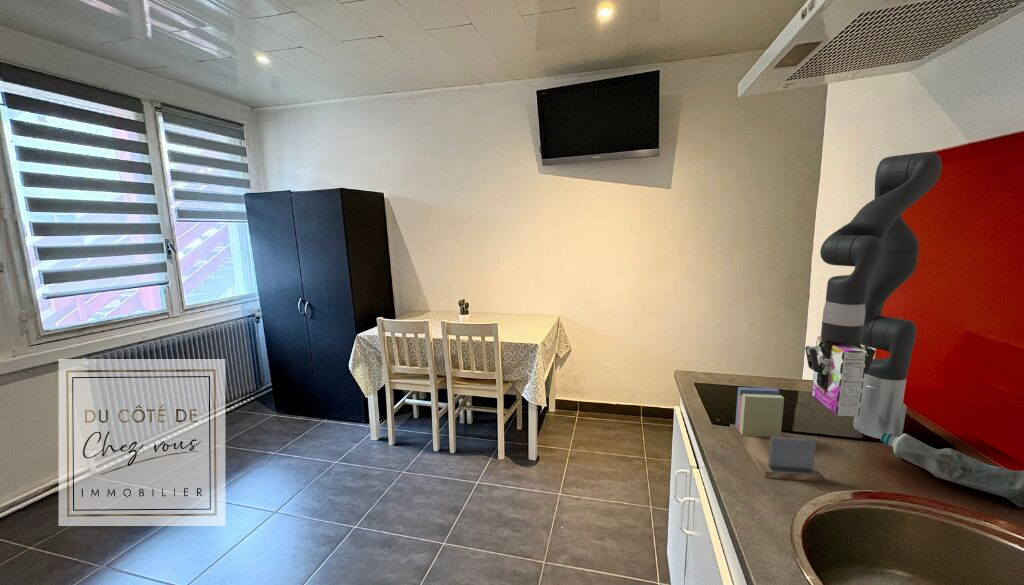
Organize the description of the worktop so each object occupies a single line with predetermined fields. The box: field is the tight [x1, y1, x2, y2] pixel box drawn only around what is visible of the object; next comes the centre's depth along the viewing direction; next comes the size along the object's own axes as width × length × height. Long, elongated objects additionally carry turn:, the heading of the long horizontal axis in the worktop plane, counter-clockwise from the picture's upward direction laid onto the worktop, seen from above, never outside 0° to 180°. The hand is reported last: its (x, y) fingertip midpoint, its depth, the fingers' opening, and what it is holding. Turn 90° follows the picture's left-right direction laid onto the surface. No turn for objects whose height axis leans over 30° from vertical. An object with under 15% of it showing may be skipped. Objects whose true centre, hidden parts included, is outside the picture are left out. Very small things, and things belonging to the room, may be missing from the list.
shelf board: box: [729, 423, 823, 482], centre depth 101 cm, size 12×22×2 cm, turn 170°
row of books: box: [734, 386, 785, 437], centre depth 108 cm, size 10×5×12 cm, turn 80°
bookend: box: [768, 436, 817, 475], centre depth 91 cm, size 9×2×8 cm, turn 80°
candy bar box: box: [810, 335, 867, 418], centre depth 94 cm, size 11×5×16 cm, turn 168°
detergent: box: [879, 432, 1024, 508], centre depth 90 cm, size 13×7×25 cm
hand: (835, 387), depth 94 cm, fingers closed on candy bar box, 5 cm apart
